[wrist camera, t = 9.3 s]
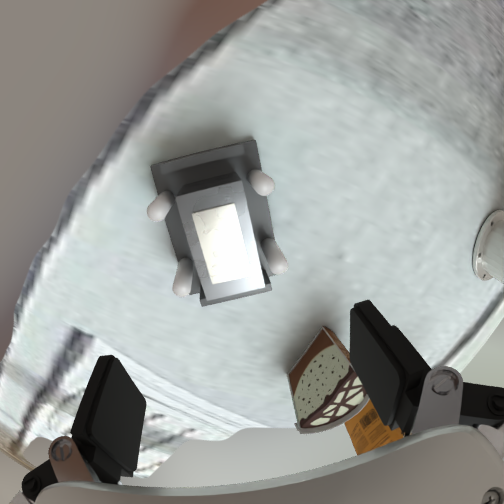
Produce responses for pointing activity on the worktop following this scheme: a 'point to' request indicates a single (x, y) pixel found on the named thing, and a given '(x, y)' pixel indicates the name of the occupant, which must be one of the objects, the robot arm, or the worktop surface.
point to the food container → (325, 385)
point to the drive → (220, 235)
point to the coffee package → (370, 430)
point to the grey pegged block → (256, 190)
